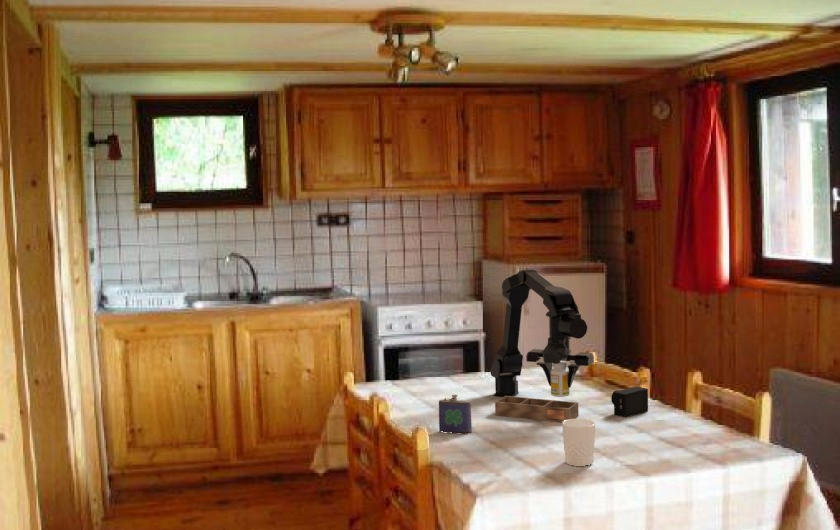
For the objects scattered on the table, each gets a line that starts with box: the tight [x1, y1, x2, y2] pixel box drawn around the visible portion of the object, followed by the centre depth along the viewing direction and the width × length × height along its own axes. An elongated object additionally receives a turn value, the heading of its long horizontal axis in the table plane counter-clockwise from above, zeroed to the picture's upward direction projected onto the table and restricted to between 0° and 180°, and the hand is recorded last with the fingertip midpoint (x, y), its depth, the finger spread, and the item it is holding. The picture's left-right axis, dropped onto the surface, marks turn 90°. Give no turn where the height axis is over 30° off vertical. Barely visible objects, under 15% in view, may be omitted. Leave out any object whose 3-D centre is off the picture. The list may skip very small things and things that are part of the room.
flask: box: [438, 394, 473, 434], centre depth 248 cm, size 9×3×11 cm, turn 74°
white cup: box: [561, 418, 596, 467], centre depth 217 cm, size 8×8×10 cm
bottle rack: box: [494, 396, 580, 423], centre depth 263 cm, size 23×8×4 cm, turn 62°
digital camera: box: [610, 386, 649, 418], centre depth 263 cm, size 10×5×7 cm, turn 127°
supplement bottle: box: [550, 361, 571, 398], centre depth 259 cm, size 5×5×10 cm
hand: (560, 386), depth 259 cm, fingers closed on supplement bottle, 5 cm apart
